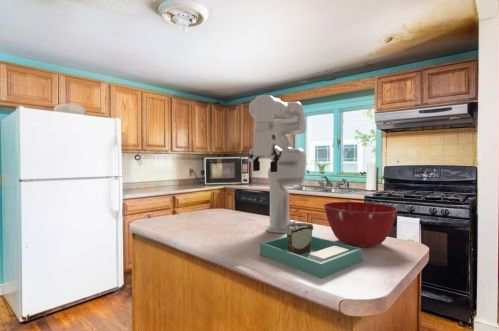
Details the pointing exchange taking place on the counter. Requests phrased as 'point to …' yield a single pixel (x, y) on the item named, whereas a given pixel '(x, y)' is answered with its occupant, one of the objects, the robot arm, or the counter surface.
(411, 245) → the counter surface
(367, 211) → the mixing bowl
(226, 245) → the counter surface
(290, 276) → the counter surface
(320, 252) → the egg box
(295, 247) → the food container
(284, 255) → the tray
